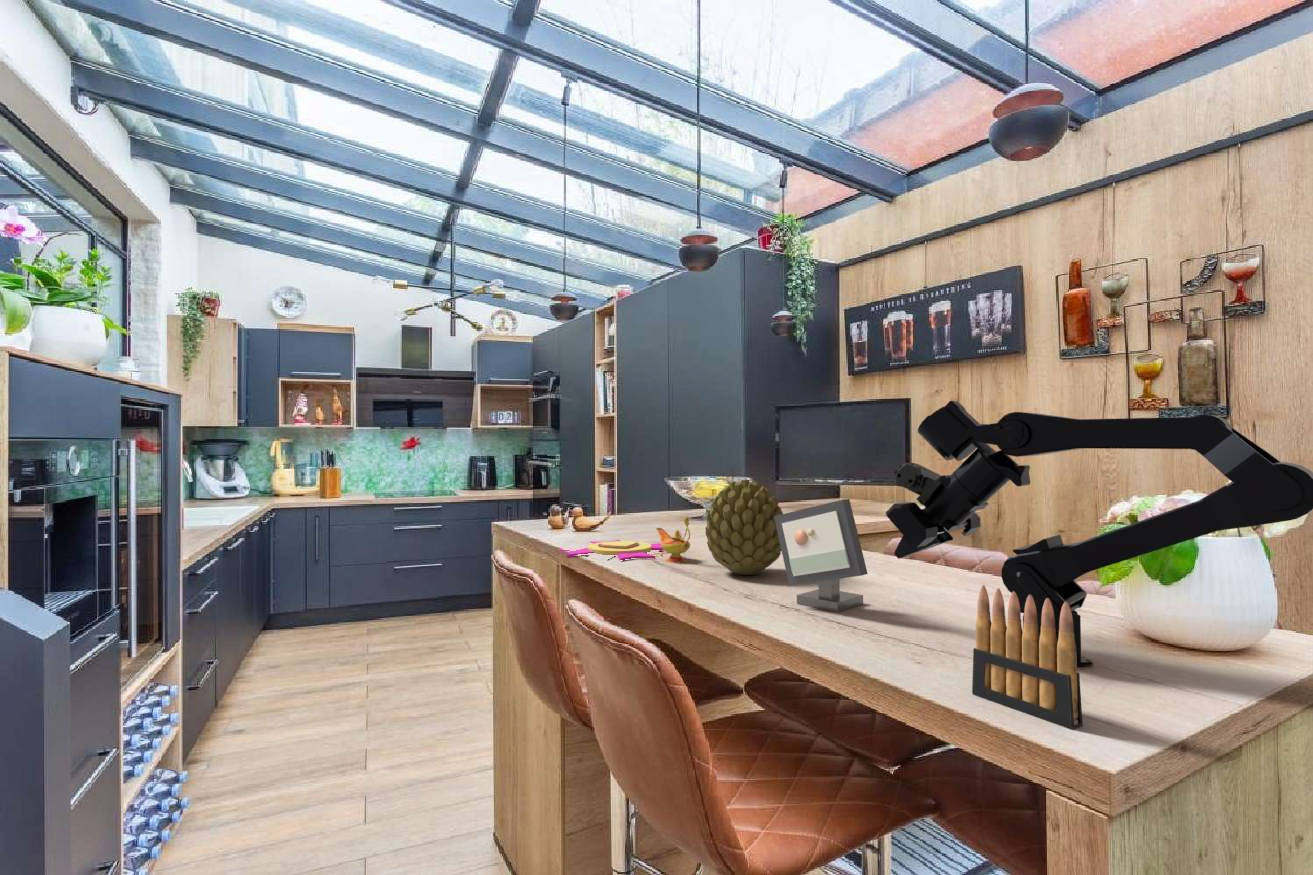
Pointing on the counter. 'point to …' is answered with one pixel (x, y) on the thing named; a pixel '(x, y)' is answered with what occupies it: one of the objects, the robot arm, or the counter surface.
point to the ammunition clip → (1027, 660)
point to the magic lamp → (674, 543)
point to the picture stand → (830, 597)
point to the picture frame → (820, 543)
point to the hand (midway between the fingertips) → (897, 555)
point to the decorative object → (744, 528)
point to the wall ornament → (619, 549)
